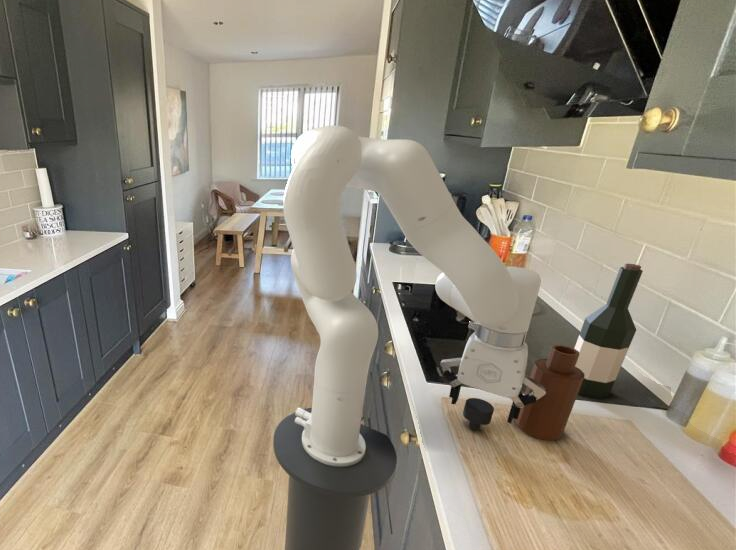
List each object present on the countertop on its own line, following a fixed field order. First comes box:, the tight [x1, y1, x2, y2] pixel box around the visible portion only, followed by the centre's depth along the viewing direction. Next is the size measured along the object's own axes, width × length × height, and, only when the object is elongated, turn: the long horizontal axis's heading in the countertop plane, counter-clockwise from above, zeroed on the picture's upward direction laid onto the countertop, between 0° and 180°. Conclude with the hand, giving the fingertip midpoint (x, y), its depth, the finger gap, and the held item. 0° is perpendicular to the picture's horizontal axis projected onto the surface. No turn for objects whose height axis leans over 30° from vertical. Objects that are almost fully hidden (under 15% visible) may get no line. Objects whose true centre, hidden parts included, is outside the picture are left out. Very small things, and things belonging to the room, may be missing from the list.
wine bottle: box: [573, 263, 644, 399], centre depth 87 cm, size 8×8×30 cm
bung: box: [462, 397, 495, 431], centre depth 80 cm, size 5×5×6 cm
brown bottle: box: [515, 344, 584, 441], centre depth 77 cm, size 7×7×18 cm
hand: (481, 410), depth 79 cm, fingers open, 9 cm apart
